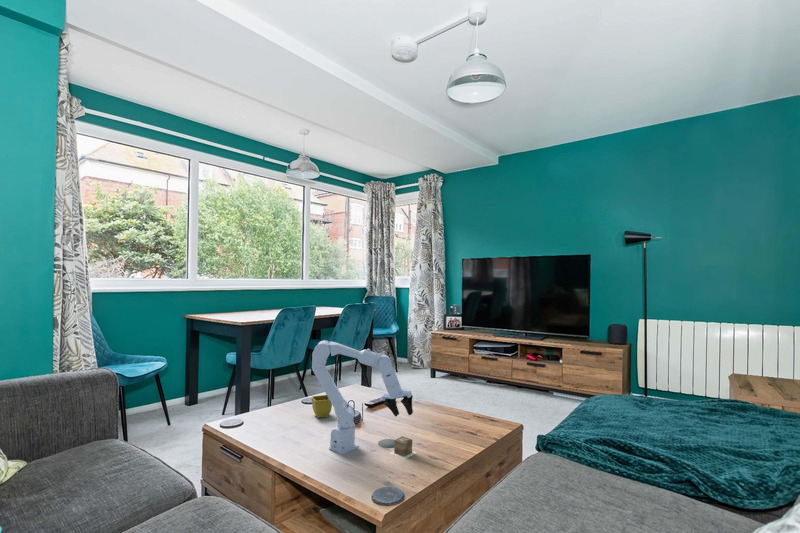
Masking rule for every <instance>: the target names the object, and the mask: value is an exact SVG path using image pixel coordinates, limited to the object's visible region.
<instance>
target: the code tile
mask: <svg viewBox="0 0 800 533" xmlns="http://www.w3.org/2000/svg"><path fill="white" fill-rule="evenodd" d="M388 454H389V455H392V456H395V457H397V458H400V459H403V460H406V459H409V458H410V457H412V456H414V455H416V454H418V452H417V451H415V450H412V453H410V454H409V455H407V456H405V457H404V456H401V455H398V454H396V453H394V450H393V451H390V452H389V453H388Z"/></svg>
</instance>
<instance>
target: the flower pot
mask: <svg viewBox="0 0 800 533" xmlns="http://www.w3.org/2000/svg"><path fill="white" fill-rule="evenodd" d="M311 406H312V410H313V413H314V415H315V416H316V417H317V418H318V419H320V418H326V417H329V415H330V414H331V412H332V407H333V405H332V403H331V402H330V400H329V398H328V396H327V395H326V394H323V395H313V396H311Z"/></svg>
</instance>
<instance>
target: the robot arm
mask: <svg viewBox="0 0 800 533" xmlns="http://www.w3.org/2000/svg"><path fill="white" fill-rule="evenodd" d="M330 354H331V355H330ZM336 355H341V356H342V355H343V356H346V357H350V358H354V359H357V360H358V362H359V363H360V364H363V365H365V366H370V367H372V368H377V369H378V371H380V374H381V379H382V380H383V383H384V386H385V388H386V391H387V393H385V394H383V395H382V396H381V399H382V401H383V404H384V406H386V407H387V408H388V409H389V410H390V411H391V413H392V414H393V416H394V417H397V416H399V414H400V412H399V408H398V405H397V401H396V399H401V400H400V403H402V406H403V407H404V408H405V411H406V413H407V414H408V416H411V415H413V413H414V410H413V394H412V391H411V390H404V389H403V388H402V387H401V384H400V381H399V379H398V375H397V374H396V371H395V370H394V367H393V365H392V364H393V363H392V361H391V358H390V357H389V356H388V355H387V354H385V353H381V352H378V353H377V352H374V351H372V350H371V349H370V348H367V349H366V348H365V349H362V350H358V349H355V348H352V347H350V346H347V345H345V344H342V343H339V342H336V341H329V340H327V339H323V340H321V341H319V342H318V343H317V345H316V346H315V347H314V349H313V351H312V353H311V358H312V359H311V370H312V372H313V375H315V377H316V379H317V381H318V382H319V384H320V386H321V387H322V389H323V391H324V393H325V395H327V396H328V398H329V400H330V402H331V403H332V407H333V409H334V414H335V416H336V418H337V420H336V422H337V424H336V426H335V428H334V429H333V428H332V430H331V432H330V447H329V448H328V449H329V450H331V451H333V452H335V453H339V454H340V455H344V454H347V453H349V452H350V451H351V452H352V451H353V450H355V449H357V448H359V447H360V445H359V444H357V443H355V439H356V438H355V437H356V423H355V422H354V417H355V409H354V407H353V406H352V405H350V404H349V403H348V402H347V400H345V398H344V397H343V395H342V393H341V392H340V390H339V388H338V386H337V384H336V383H335V380H333V378H332V376H331V375H330V373H329V371H328V368H327V367H326V363H327V360H328V358H329V356H331V357H333V356H336ZM384 401H385V402H384Z"/></svg>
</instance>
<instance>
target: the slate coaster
mask: <svg viewBox="0 0 800 533" xmlns="http://www.w3.org/2000/svg"><path fill="white" fill-rule="evenodd" d="M395 440H396V439H393V438H384V439H380V440H379V441H378V442H377V445H378V447H380V448H382V449H383V448H384V449H393V448H394V442H395Z"/></svg>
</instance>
